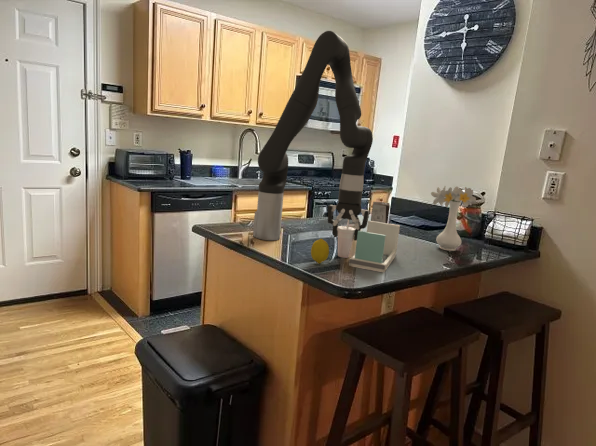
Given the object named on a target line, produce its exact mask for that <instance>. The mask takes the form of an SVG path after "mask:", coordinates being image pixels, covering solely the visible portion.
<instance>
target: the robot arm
mask: <svg viewBox="0 0 596 446" xmlns="http://www.w3.org/2000/svg"><path fill="white" fill-rule="evenodd" d="M314 42H315V43H314V45H313V47H312V49H311V51H310V55H309V57H308V60H307V62H306V63H305V67H304V69H303V71H302V73H301V75H300V77H299V80H298V82H297V84H296V86H295V88H294V90H293V92H292V93H291V95H290V97H289V99H288V101H287V103H286V104H285V107H284V109H283V111H282V113H281V115H280V117H279V120H278V121H277V123H276V126H275V128H274V130H273V132H272V133H271V134H270V137H269V138H268V139H267V141H266V143H265V144H264V145H263V147H262V149H261V151H260V152H259V154H258V157H257V164H258V165H257V166H258V167H259V170H261V171H262V172H263V174H262V178H261V181H260V182H259V184H258V192H257V194H258V195H257V207H256V211H254V219H253V228H252V229H253V233H252V237H253V238H256V239H259V240H263V241H277V240H280V239H281V229H282V228H281V227H282V220H283V219H282V218H283V217H282V216H283V208H284V207H283V206H284V193H285V187H286V185H287V179H288V170H289V156H288V154H287V151H288V149H289V146H290V145H291V143H292V142H293V140H294V139H295V138H296V137H297V135H298V134H299V133H300V132H301V131H302V130H303V129H304V127H305V126H306V125H307V123H308V122H309V120H310V118H311V117H312V115H313V113H314V112H315V109H316V107H317V105H318V101H319V94H320V93H319V92H320V84H321V80H322V78H323V75H324V72H325V71H326V68H327V66H329V68H330V69H331V72H332V74H333V77H334V81H335V90H334V92H335V93H334V97H335V104H336V108H337V111H338V115H339V136H340V137H339V138H340V140H341V143H342V144H343V146H345V148H348V149H353V150H352V152H351V154H350V155H349V154H348V155H346V156H344V158H343V161H342V170H341V177H340V181H339V190H338V198H337V204H336V205H335V204H334V205H333V204H328V206H327V223H328V224H330V225H332V236H333V237H334V238H338V231H337V227H338V226H339V223H340V222H341V220H343V219H344V220H348V219H349V221H352V223H353V224H354V226H355V227H354V228H355V234H354V238H353V241H354V242H355V241H356V242H357V235H358V231H362V229H363V230H364V229H366V228H367V226H368V221H369V218H370V213H371V211H370V210H369V209H364V208H362V199H363V198H362V196H363V190H364V175H365V165H366V162H367V159H368V156H369V153H370V152H371V148H372V145H373V138H374V135H373V133H372V130H371V129H370V128H369V127H367V126H362V125H357V121H359V120H360V118H361V117H362V110H361V106H360V101H359V98H358V95H357V90H356V88H355V84H354V79H353V73H352V65H351V64H352V63H351V55H350V48H349V44H348V43H347V42H346V41H345V39H343V38H342V37H341V36H340V35H339V34H337V33H336V32H335V31H332V30H326V31H324V32H322V33H321V34H320V35H319V36H318V37H317V39H316V41H314ZM335 211H337V213H338V215H337V216H336V218H335V219H334V212H335ZM360 213H361V215H362V217H363V219H362V222H361V221H360V219H359V215H360Z"/></svg>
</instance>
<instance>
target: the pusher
mask: <svg viewBox="0 0 596 446" xmlns="http://www.w3.org/2000/svg"><path fill="white" fill-rule="evenodd" d="M385 237H386V235H382V234H376V233H370V232H367V231H364V230H360V231H358V235H357V240H356V245H355V252H354V255H355V258H357V259H362V260H367V261H373V262H378V263H383V258H384V255H383V252H384V245H385Z"/></svg>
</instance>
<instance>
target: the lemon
mask: <svg viewBox="0 0 596 446" xmlns="http://www.w3.org/2000/svg"><path fill="white" fill-rule="evenodd" d="M329 247H330V246H329V243H328V242H327V241H325V240H324V239H323V238H319V239H316V240H315V241H314V242H313V243H312V245H311V249H310V256H311V259H312V260H313V261H315V262H316V264H318V265H319V264H321V263H323V262H325V261H327V259H328V257H329V255H330V248H329Z"/></svg>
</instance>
